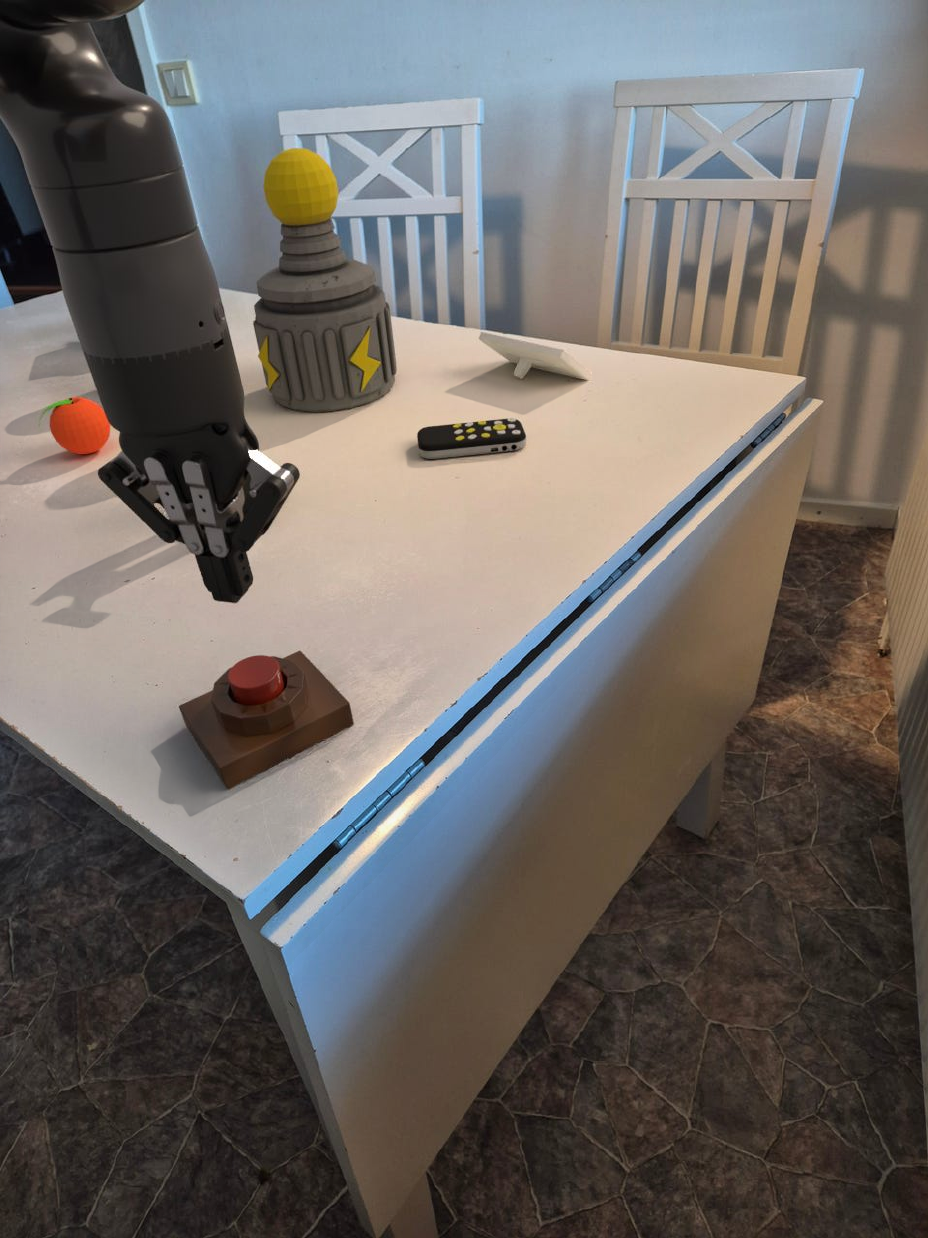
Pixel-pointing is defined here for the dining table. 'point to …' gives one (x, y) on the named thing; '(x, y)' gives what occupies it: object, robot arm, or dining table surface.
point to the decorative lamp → (318, 300)
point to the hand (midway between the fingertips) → (233, 595)
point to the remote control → (471, 438)
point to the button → (256, 680)
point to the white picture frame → (535, 356)
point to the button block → (266, 721)
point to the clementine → (79, 425)
